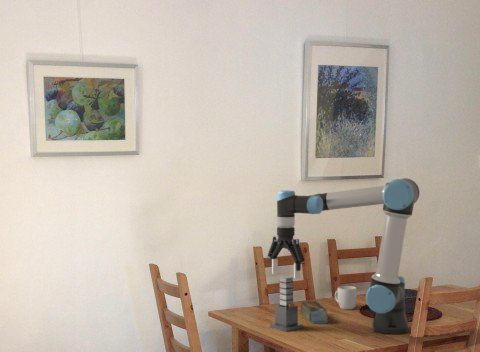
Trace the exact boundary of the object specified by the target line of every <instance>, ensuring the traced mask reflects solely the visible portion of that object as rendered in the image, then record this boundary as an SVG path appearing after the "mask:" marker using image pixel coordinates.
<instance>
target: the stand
mask: <svg viewBox="0 0 480 352" xmlns="http://www.w3.org/2000/svg"><path fill="white" fill-rule="evenodd" d="M298 308H299V306H298V305H297V304H296V305H295V303H294V302H293V303H291V304H288V307H283V306H279V304H276V305H275V306H274V311H275V312H274V317H275V318H274V322H273V323H272V322H271V323H269V328H271V329H274V328H275V330H279V331H281V332H291V331H294V330H295V329H296V330H300V329H303V328H304V324H303V323H299V321H298V320H299V317H298V316H299V315H298V314H299V313H298ZM296 330H295V331H296Z"/></svg>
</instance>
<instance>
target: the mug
mask: <svg viewBox="0 0 480 352" xmlns="http://www.w3.org/2000/svg"><path fill="white" fill-rule="evenodd" d="M357 290H358V289H357V287H355V286H352V285H350V286H349V285H341V286H340V285H339V286H338V287H337V290H336V291H335V293H334V298H335V299H334V300H335V301H336V302H337V303H338V306H339V307H340V309H341V310H354V309H355V307H356V304H357V296H358V295H357V292H358V291H357Z"/></svg>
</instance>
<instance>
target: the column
mask: <svg viewBox="0 0 480 352" xmlns="http://www.w3.org/2000/svg"><path fill="white" fill-rule="evenodd" d="M278 282H279V304H278V305H279V306H283V307H288V304H291V303H293V304H294V276H288V275H286V276H279V281H278Z"/></svg>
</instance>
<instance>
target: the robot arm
mask: <svg viewBox="0 0 480 352" xmlns="http://www.w3.org/2000/svg"><path fill="white" fill-rule="evenodd" d="M276 198H277V199H276V213H277V215H276V227H277V228H276V235H277V236H272V242H271V245H270V247H269V249H268V253H267V257H269V258H270V266H271V275H277V274H278V273H279V272H278V271H279V269H278V267H279V265H278V264H279V263H278V262H279V261H278V256H279V254H280V252H281V251H282V250H283V249H287V251H288V252H289V253H290V255H291V257H292V258H293V260H294V262H293V280H295V279H300V273H301V272H300V271H301V270H302V267H301V265H302V264H301V263H303V262H305V261H306V260H305V256H304V255H303V251H302V248H301V246H300V245H301V244H300V239H299V238H294V236H295V234H296V233H295V231H296V230H295V227H294V226H295V223H296V222H295V221H296V219H295V218H296V217H295V214H310V215H320V214H321V213H322V212H325V211H326V212H327V211H333V210H340V209H341V210H342V209H351V208H359V207H368V206H377V205H383V206H382V212H383V213H384V214H385V218H384V223H383V228H382V235H381V241H380V246H379V252H378V259H377V265H376V271H375V273H374V274H372V275H371V277H370V283H369V288H367V291H366V294H365V303H366V305H367V307H369V309H370V310H371V311H373V312H374V313H375V314H374V317H373V321H372V324H371V325H372V328H371V329H372V331H374V332H377V333H381V334H389V335H391V334H392V335H398V334H400V335H401V334H406V333H408V332H409V331H410V325H409V323H408V320H407V315H406V310H405V309H406V308H405V300H406V299H405V297H406V296H405V295H406V293H405V292H406V291H405V290H406V288H405V287H406V283H405V278H404V276H401V275H398V274H399V269H400V264H401V259H402V251H403V246H404V240H405V234H406V227H407V223H408V219H409V218H410V217H412V216H413V211H414V204H415V203H416V202H417V201H418V199H419V198H420V187H419V186H418V184H417V183H416V182H415V181H414V180H412V179H410V178H397V179H393V180H391V181H389V182H386V183H385V184H384V185H380V186H378V185H377V186H371V187H362V188H356V189H354V188H353V189H348V190H347V189H346V190H341V191H331V192H326V193H325V192H324V193H323V192H322V193H316V194H310V195H297V194H296V192H295V191H294V190H288V189H283V190H278V192H277V197H276Z"/></svg>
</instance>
